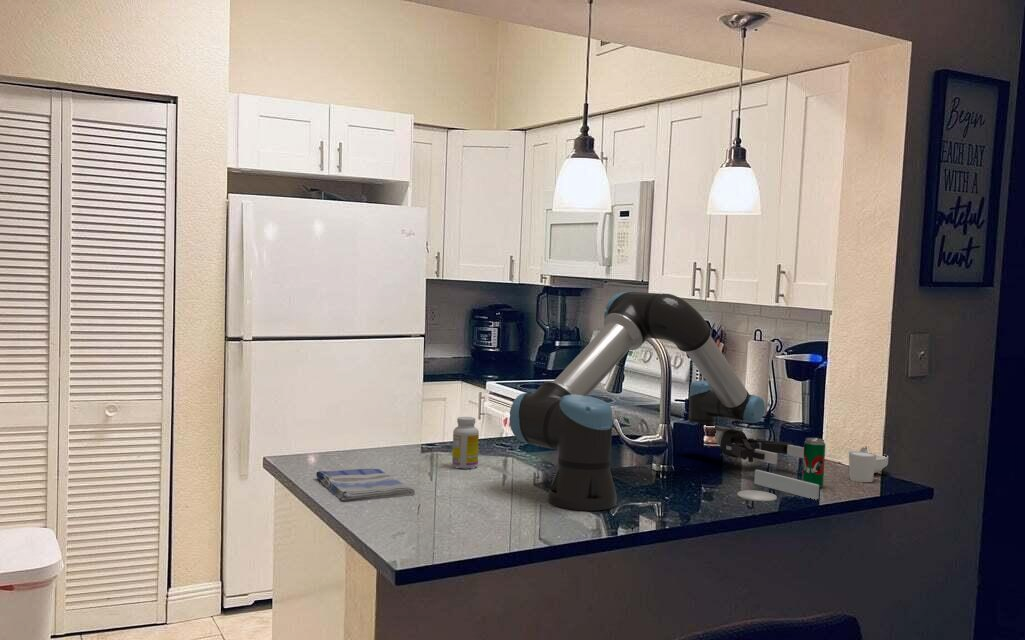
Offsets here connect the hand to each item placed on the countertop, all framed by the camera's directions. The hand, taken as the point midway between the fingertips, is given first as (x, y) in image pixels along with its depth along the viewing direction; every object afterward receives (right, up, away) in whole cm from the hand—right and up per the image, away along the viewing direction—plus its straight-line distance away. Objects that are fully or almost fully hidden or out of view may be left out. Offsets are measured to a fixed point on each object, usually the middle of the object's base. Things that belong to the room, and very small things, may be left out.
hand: (793, 456), depth 226 cm
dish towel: (-107, -4, -22) cm, 109 cm away
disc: (-14, -7, -18) cm, 24 cm away
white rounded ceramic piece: (+25, -7, +15) cm, 30 cm away
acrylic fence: (-6, -7, -11) cm, 14 cm away
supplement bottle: (-85, -3, +3) cm, 85 cm away
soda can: (+3, -7, -5) cm, 9 cm away
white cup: (+19, -7, +4) cm, 21 cm away
